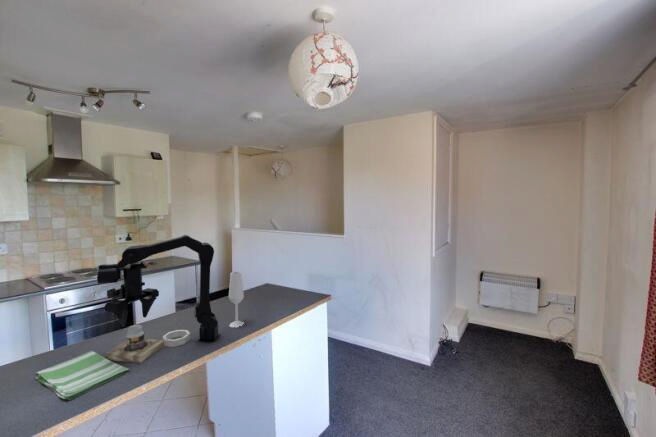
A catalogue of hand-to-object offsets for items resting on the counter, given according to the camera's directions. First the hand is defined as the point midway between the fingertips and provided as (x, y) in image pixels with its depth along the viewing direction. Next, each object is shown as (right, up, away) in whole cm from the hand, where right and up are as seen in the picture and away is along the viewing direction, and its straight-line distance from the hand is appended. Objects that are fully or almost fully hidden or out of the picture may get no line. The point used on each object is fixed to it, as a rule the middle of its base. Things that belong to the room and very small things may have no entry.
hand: (134, 321), depth 115 cm
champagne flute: (+30, -10, +27) cm, 42 cm away
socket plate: (0, -12, +1) cm, 12 cm away
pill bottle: (0, -12, +1) cm, 12 cm away
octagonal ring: (+11, -11, +10) cm, 19 cm away
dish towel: (-9, -14, -14) cm, 21 cm away
